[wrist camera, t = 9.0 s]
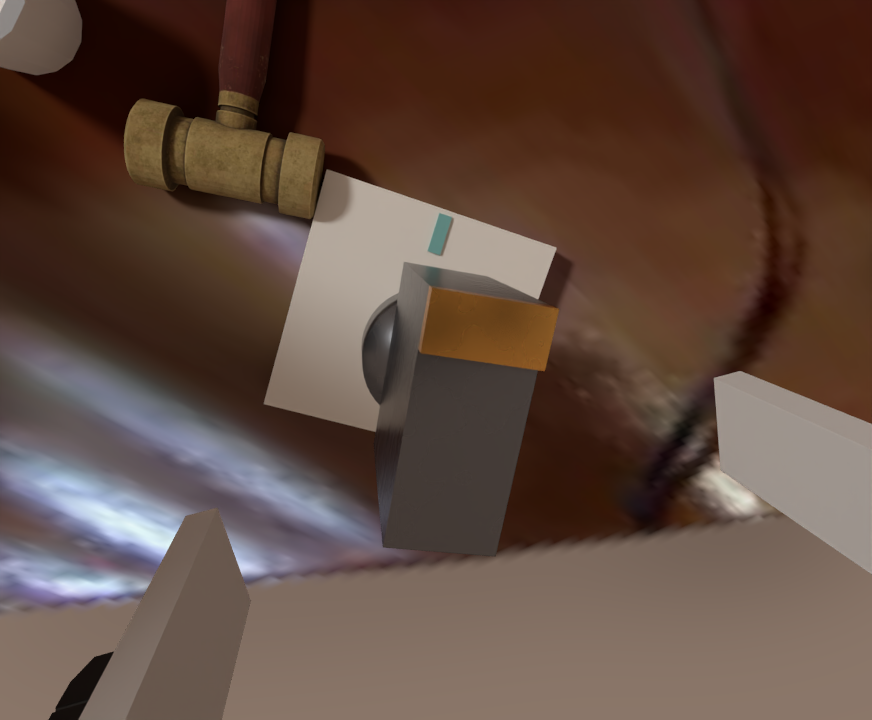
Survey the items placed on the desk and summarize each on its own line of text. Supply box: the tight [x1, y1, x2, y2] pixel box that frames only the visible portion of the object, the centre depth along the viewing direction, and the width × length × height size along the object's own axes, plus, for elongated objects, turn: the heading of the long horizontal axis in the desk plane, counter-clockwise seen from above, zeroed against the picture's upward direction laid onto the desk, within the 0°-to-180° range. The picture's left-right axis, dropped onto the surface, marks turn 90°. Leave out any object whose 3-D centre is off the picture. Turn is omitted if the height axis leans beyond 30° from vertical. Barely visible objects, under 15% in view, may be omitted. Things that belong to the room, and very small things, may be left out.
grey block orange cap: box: [361, 262, 559, 556], centre depth 24 cm, size 9×6×13 cm
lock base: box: [264, 169, 556, 432], centre depth 34 cm, size 15×15×8 cm
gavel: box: [124, 0, 325, 219], centre depth 31 cm, size 21×5×10 cm
